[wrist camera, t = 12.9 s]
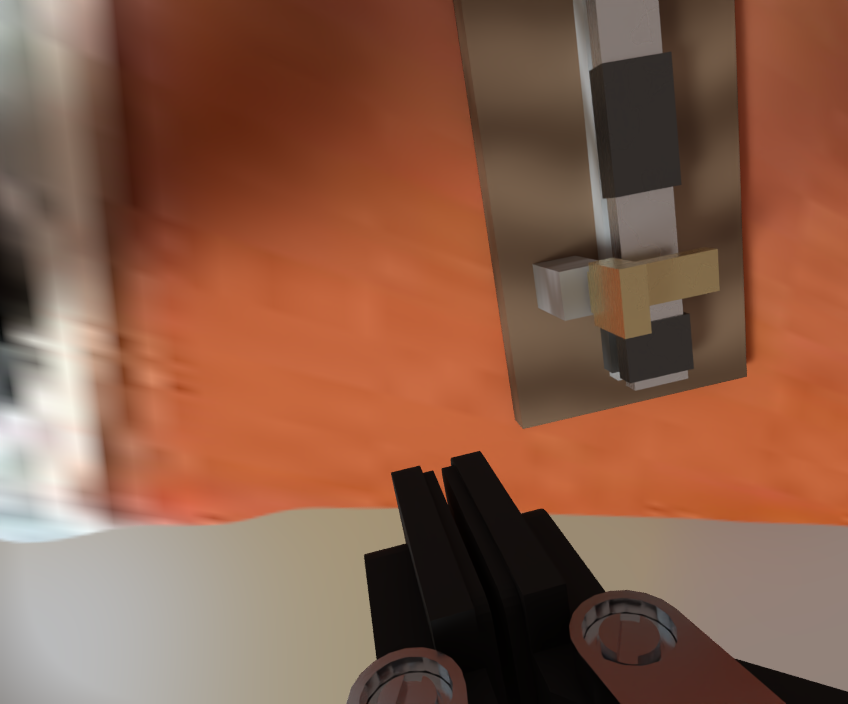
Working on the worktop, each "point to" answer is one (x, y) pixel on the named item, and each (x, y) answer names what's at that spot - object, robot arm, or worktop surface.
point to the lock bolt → (647, 287)
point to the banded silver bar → (639, 170)
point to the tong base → (594, 194)
